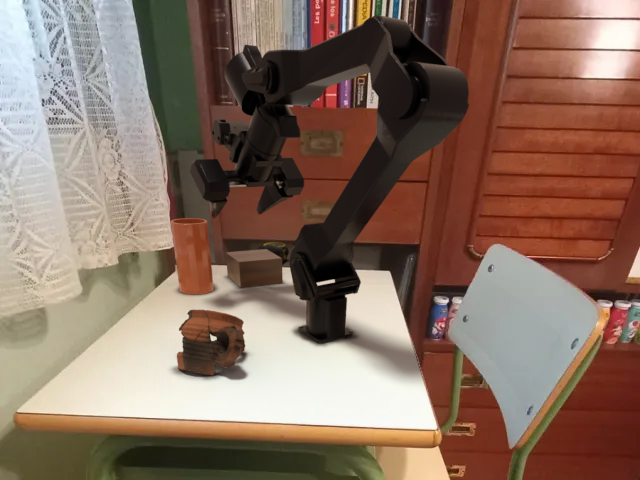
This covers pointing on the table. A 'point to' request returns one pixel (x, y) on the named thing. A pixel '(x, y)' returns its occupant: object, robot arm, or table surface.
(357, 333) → the table surface
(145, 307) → the table surface
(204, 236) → the tumbler
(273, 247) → the tape measure
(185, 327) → the pottery mug
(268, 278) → the block
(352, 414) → the table surface
